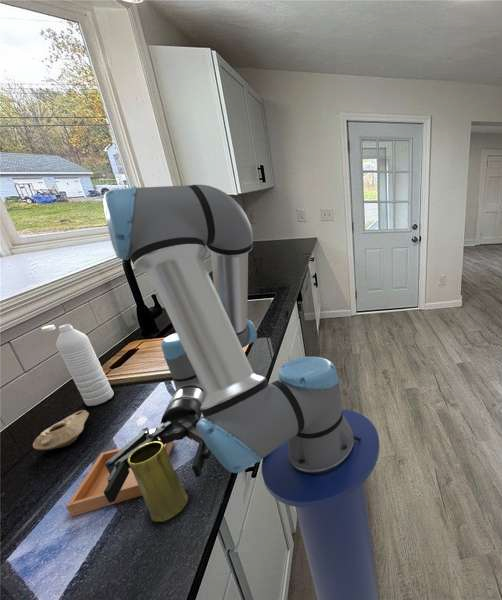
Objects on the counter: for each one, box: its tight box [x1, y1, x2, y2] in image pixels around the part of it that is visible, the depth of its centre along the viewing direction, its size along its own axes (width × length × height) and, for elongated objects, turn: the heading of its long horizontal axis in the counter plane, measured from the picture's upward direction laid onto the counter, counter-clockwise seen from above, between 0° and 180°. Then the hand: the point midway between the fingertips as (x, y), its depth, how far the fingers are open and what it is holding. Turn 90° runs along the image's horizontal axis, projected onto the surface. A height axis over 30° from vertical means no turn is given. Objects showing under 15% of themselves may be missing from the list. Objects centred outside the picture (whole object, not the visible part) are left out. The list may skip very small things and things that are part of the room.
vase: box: [128, 441, 189, 523], centre depth 59 cm, size 6×6×14 cm
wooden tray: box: [65, 437, 174, 517], centre depth 68 cm, size 14×14×3 cm
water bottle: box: [40, 323, 115, 407], centre depth 90 cm, size 9×6×25 cm
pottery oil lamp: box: [32, 409, 90, 451], centre depth 79 cm, size 9×12×7 cm
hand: (153, 484), depth 57 cm, fingers open, 13 cm apart
